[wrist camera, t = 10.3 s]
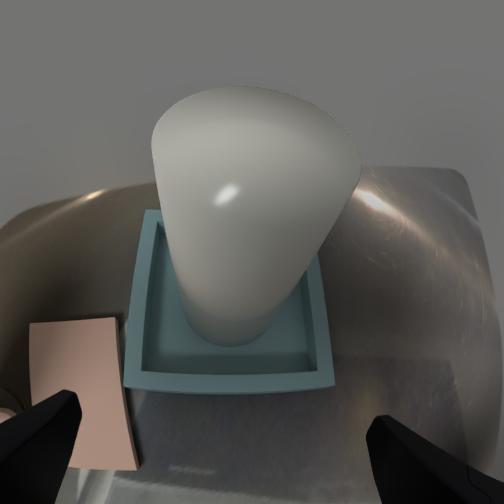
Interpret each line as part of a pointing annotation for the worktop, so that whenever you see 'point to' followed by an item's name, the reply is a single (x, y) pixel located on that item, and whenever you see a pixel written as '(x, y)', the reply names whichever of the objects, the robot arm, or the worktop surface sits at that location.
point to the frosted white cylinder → (247, 201)
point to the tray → (212, 356)
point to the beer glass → (8, 405)
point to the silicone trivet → (86, 387)
